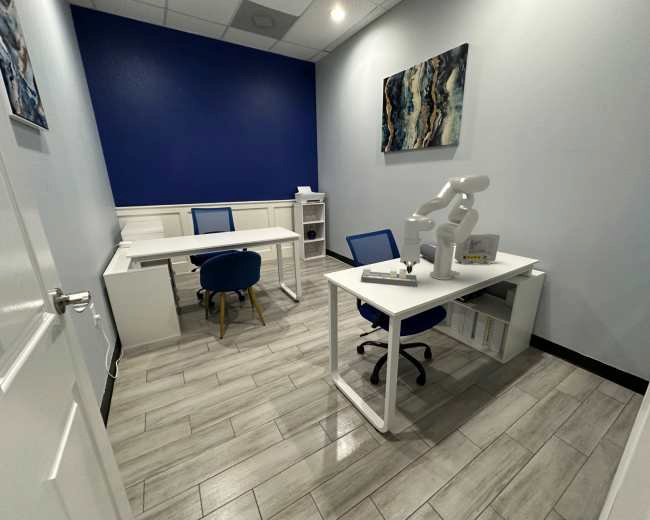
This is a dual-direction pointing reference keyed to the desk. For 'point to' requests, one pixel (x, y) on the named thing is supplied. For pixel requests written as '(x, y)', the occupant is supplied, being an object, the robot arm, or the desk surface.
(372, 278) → the switch console
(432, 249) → the bluetooth speaker
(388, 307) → the desk surface
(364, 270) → the slider
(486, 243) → the network device
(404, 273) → the slider
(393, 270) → the slider middle
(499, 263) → the desk surface
